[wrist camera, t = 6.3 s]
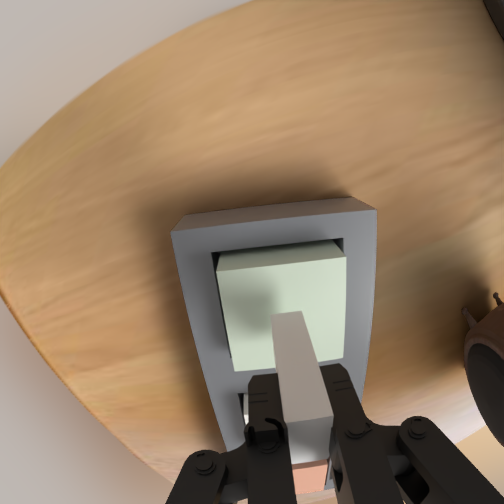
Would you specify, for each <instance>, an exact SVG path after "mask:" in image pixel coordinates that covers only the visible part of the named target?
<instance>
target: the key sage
mask: <svg viewBox="0 0 504 504" xmlns="http://www.w3.org/2000/svg"><path fill="white" fill-rule="evenodd" d="M216 273H217V279H218V285H219V291H220V296H221V302H222V308H223V313H224V319H225V324H226V329H227V335H228V340H229V345H230V350H231V355H232V361H233V366H234V371H247V370H258V369H268V368H276V367H275V359H274V349H273V338H272V328H271V318H270V314H278V313H286V312H294V311H302V313H303V317H304V320H305V323H306V326H307V329H308V332H309V335H310V339H311V342H312V345H313V348H314V352H315V355H316V358H317V361H318V362H322V361H328V360H334V359H340V358H343V351H344V334H345V312H346V256H345V255H344V253H343V252H342V251H341V250H340V249H339V247H338V246H337V245H336V244H335V243H334V242H333V240H332V239H326V240H317V241H308V242H299V243H290V244H281V245H272V246H263V247H254V248H245V249H236V250H227V251H221V253H220V258H219V262H218V266H217V271H216Z"/></svg>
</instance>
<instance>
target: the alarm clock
mask: <svg viewBox="0 0 504 504" xmlns="http://www.w3.org/2000/svg"><path fill="white" fill-rule="evenodd" d="M493 298H495V299H496V302H497V305H498V306H497V307H496V308H495V309H493V310H492V311H491V312H489V313H488V314H487V315H486V316H485V317H484V318H483V319H482V320H481V321H480V322H479V323H477V322H476V321H475V319H474V318H473V317H472V316H471V315H470V314H469V313H468V309H467V308H466V307H465V308H463V309H462V314H464V315H465V317H466V319H467V322H468V324H469V327H470V331H469V332H468V333H467V335H466V337H465V342H464V363H465V370H466V375H467V379H468V382H469V386H470V389H471V392H472V395H473V397H474V400H475V402H476V405H477V407H478V409H479V411H480V413H481V415H482V417H483V419H484V421H485V423H486V425H487V426H488V428H489V429H490V431H491V432H492V434H493V435H494V436H495V438H496V439H497V440H498V442H499V443H501V445H502V446H503V447H504V303H503V302H502V301H501V300H500V298H499V297H498V293H496V292H495V293H494V294H493Z"/></svg>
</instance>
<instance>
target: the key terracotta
mask: <svg viewBox="0 0 504 504" xmlns="http://www.w3.org/2000/svg"><path fill="white" fill-rule="evenodd" d="M327 466H328V463H327V459H323V460H318V461H311V462H305V463H298V464H292V470H293V477H294V485H295V492H296V494H302V493H309V492H316V491H322V490H324V485H325V479H326V473H327Z"/></svg>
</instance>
